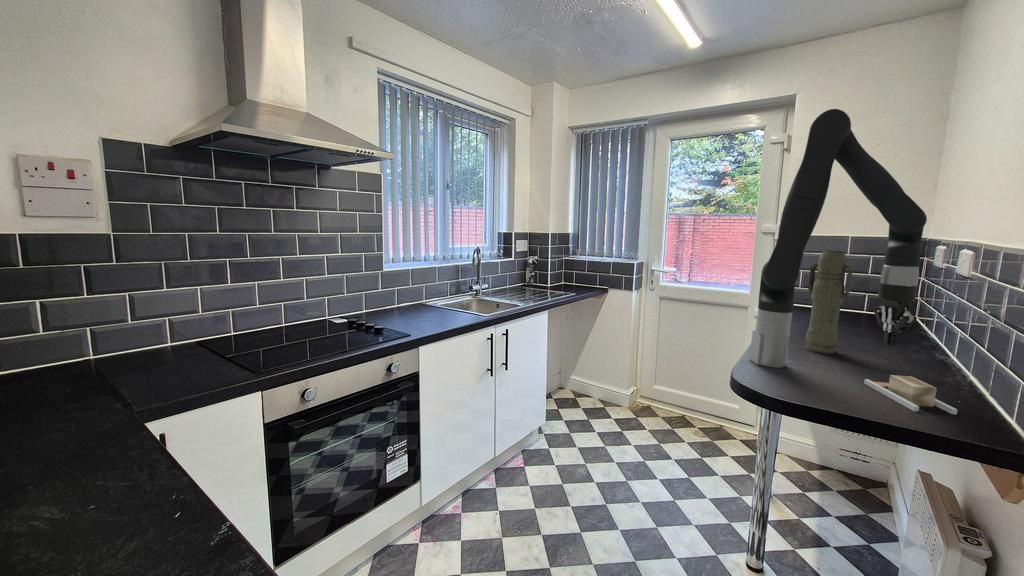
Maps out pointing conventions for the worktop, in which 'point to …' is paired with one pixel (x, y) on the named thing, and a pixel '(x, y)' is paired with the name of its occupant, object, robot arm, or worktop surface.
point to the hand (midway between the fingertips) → (889, 345)
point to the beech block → (912, 390)
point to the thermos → (827, 301)
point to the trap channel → (906, 403)
